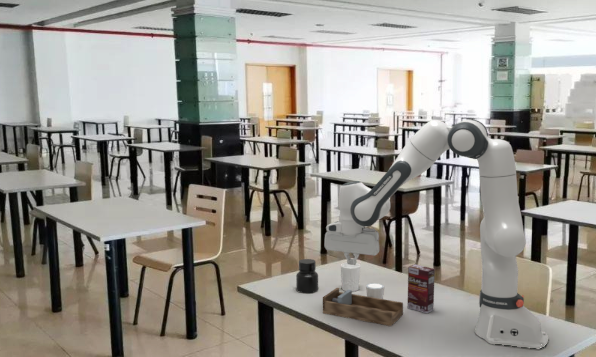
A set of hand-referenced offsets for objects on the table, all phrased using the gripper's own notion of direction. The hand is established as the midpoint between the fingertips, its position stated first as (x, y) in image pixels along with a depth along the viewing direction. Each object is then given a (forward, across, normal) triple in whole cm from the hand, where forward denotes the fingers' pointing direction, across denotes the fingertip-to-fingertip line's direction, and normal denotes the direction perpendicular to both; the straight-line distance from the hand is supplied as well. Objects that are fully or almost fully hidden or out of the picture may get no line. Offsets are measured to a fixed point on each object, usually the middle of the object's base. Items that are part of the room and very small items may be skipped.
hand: (351, 264), depth 211 cm
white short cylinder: (+18, -4, -12) cm, 22 cm away
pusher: (+16, +5, 0) cm, 17 cm away
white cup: (+18, +11, -23) cm, 31 cm away
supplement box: (+18, -21, -14) cm, 31 cm away
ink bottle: (+18, +26, -14) cm, 34 cm away
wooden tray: (+18, -4, 0) cm, 18 cm away
